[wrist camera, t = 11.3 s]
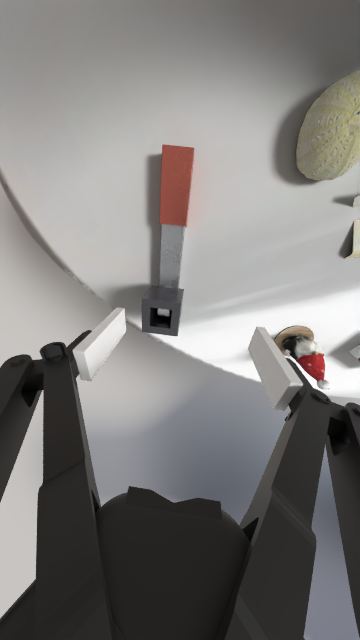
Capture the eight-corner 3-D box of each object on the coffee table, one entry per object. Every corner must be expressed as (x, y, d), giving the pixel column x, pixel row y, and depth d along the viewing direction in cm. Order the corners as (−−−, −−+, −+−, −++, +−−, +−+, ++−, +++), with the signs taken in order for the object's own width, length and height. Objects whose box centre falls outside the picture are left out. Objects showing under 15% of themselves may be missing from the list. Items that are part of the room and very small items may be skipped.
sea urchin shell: (281, 179, 23) (340, 84, 15) (282, 144, 25) (334, 46, 17) (342, 195, 23) (430, 110, 15) (338, 159, 25) (412, 70, 18)
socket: (152, 285, 31) (141, 298, 25) (183, 289, 31) (181, 303, 24) (151, 313, 34) (142, 331, 27) (180, 317, 33) (177, 336, 27)
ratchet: (180, 310, 35) (178, 326, 29) (155, 307, 36) (147, 322, 29) (198, 156, 24) (200, 129, 18) (160, 152, 24) (149, 124, 18)
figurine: (308, 317, 30) (361, 378, 26) (299, 320, 39) (338, 366, 35) (266, 340, 33) (308, 397, 29) (267, 338, 42) (299, 382, 38)
